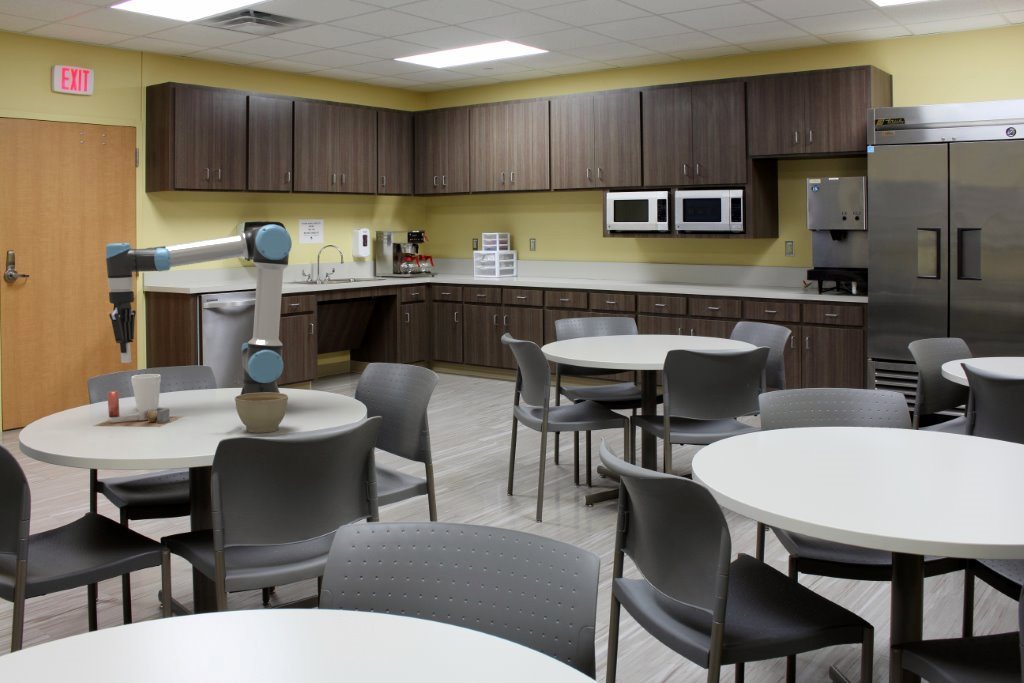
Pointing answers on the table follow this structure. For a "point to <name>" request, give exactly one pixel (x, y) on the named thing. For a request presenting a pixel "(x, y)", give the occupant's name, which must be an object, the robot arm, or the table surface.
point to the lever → (114, 410)
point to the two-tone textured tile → (163, 416)
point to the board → (137, 422)
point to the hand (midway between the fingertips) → (126, 362)
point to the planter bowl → (261, 410)
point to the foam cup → (146, 391)
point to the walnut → (152, 416)
